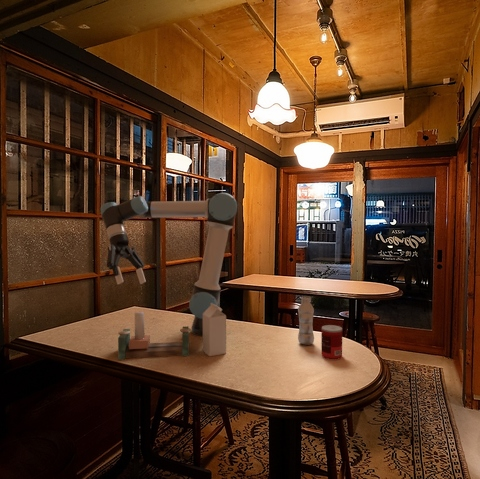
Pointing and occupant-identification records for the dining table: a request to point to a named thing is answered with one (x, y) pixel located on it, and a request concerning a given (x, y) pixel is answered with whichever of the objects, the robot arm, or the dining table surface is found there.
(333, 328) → the canned food
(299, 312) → the plastic bottle
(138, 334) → the carriage
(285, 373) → the dining table surface
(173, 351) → the rail board
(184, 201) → the robot arm
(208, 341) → the milk carton
